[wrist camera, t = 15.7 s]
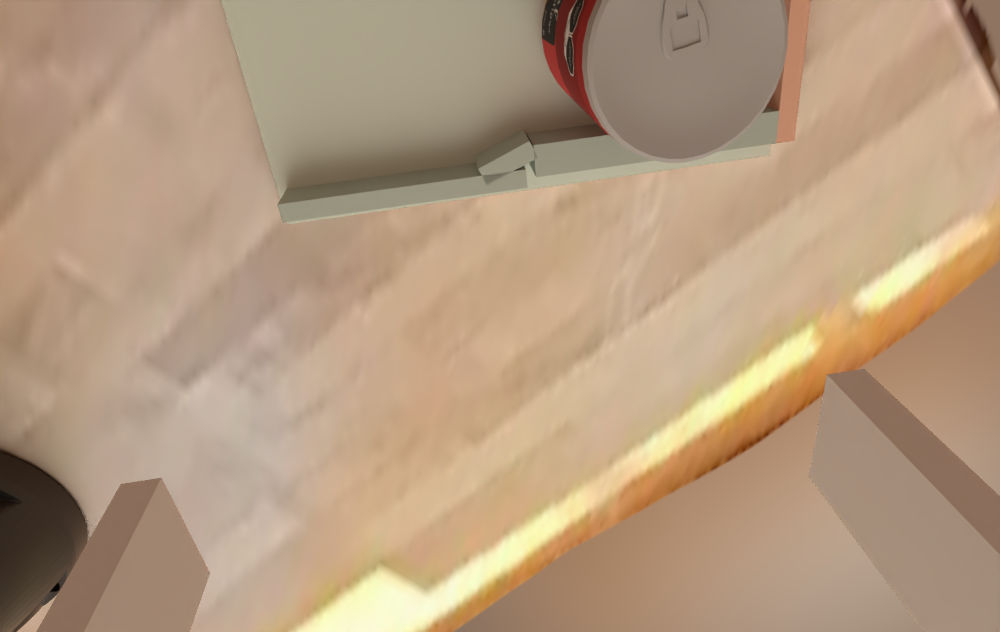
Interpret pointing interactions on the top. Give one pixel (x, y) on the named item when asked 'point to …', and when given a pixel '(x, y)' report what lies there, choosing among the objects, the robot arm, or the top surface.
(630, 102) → the canned food
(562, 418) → the top surface
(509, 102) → the grey miter box
